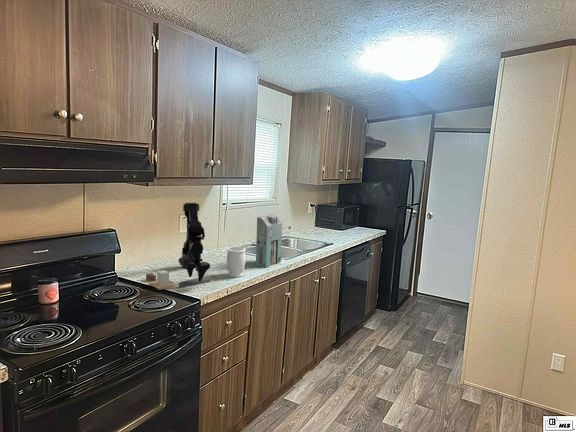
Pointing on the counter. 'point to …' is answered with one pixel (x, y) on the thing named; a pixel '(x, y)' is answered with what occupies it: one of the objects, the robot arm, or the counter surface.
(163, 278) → the white rectangular block
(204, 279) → the grey rounded rod
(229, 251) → the jar
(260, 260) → the device
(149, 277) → the block
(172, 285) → the mat
